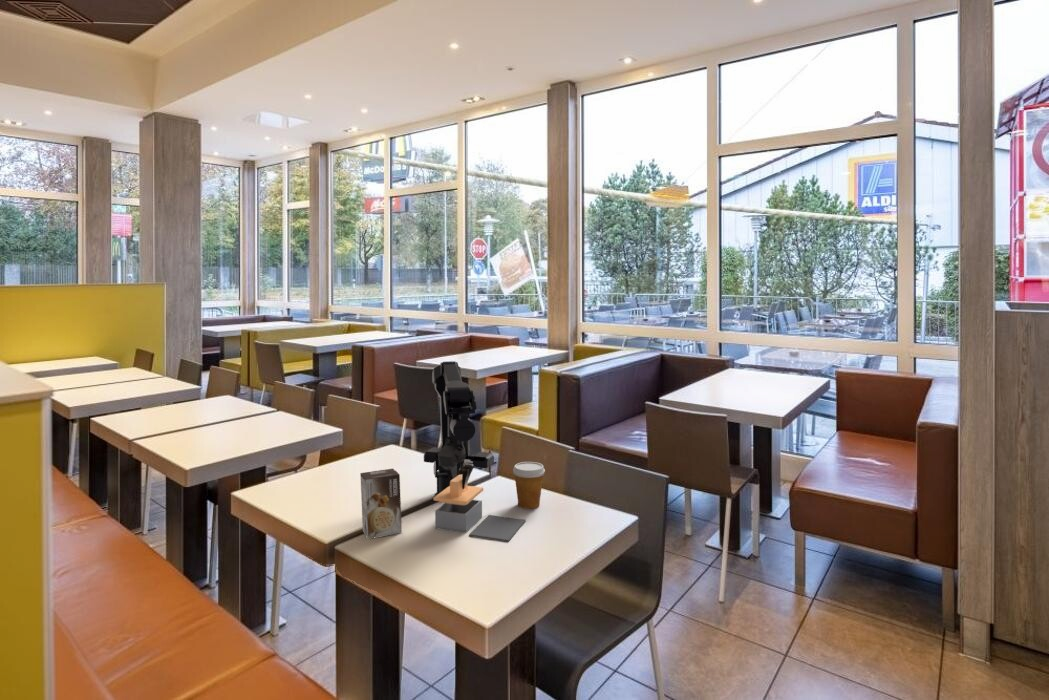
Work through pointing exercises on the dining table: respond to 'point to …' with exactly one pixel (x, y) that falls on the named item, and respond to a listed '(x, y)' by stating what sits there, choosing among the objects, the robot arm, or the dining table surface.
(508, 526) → the mat
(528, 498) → the disposable coffee cup
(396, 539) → the dining table surface
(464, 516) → the tub
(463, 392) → the robot arm
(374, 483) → the coffee box
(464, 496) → the lid
